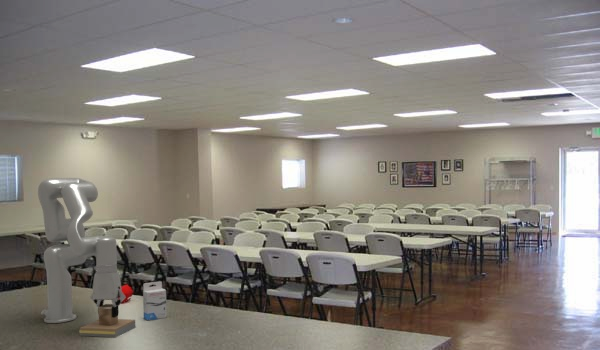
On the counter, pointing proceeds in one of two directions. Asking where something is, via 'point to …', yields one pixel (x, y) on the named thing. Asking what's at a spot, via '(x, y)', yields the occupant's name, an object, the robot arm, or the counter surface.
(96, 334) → the dock
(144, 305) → the ink box
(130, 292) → the red animal figurine
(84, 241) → the robot arm
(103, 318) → the brown wooden block
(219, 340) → the counter surface
